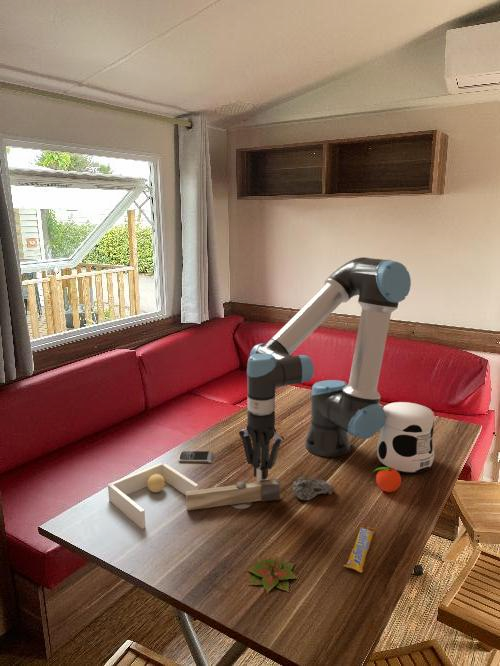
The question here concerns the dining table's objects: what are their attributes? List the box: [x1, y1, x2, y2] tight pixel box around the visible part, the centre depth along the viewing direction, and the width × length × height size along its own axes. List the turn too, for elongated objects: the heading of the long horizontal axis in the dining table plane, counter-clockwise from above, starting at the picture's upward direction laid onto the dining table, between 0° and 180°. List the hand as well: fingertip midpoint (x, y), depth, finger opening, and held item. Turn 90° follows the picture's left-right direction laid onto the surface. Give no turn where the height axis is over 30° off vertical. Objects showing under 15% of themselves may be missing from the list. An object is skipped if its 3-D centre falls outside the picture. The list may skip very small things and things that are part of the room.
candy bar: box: [343, 524, 376, 573], centre depth 116 cm, size 17×4×2 cm, turn 155°
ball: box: [147, 474, 166, 493], centre depth 141 cm, size 5×5×5 cm
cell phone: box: [178, 450, 214, 464], centre depth 160 cm, size 6×11×1 cm, turn 89°
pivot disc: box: [230, 502, 253, 510], centre depth 135 cm, size 6×6×1 cm
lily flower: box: [246, 554, 299, 594], centre depth 108 cm, size 12×12×5 cm
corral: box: [107, 461, 199, 530], centre depth 136 cm, size 18×18×5 cm
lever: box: [185, 478, 281, 511], centre depth 134 cm, size 3×26×5 cm, turn 103°
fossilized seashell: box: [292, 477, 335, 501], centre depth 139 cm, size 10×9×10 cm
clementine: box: [373, 466, 402, 493], centre depth 140 cm, size 8×7×7 cm
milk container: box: [376, 401, 435, 474], centre depth 153 cm, size 17×17×18 cm
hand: (260, 487), depth 139 cm, fingers closed
